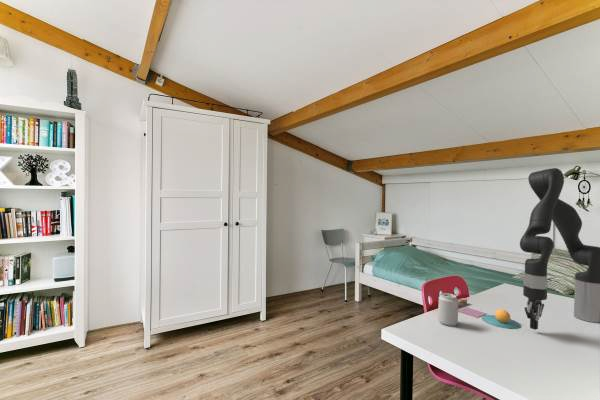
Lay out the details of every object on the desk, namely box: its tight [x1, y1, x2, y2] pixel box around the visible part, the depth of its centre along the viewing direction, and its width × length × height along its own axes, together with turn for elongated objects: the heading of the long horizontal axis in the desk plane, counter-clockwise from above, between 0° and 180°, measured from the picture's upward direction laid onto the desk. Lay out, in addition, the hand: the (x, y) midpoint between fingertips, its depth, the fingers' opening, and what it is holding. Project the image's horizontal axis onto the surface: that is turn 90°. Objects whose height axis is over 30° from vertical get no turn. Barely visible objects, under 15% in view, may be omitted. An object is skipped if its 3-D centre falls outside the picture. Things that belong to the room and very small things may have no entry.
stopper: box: [457, 297, 468, 308], centre depth 147 cm, size 20×2×2 cm, turn 124°
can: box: [437, 292, 459, 327], centre depth 127 cm, size 8×8×12 cm
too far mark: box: [458, 307, 488, 318], centre depth 140 cm, size 9×9×1 cm
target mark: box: [481, 314, 522, 330], centre depth 130 cm, size 14×14×1 cm
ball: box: [494, 308, 511, 323], centre depth 130 cm, size 6×6×6 cm
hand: (533, 328), depth 120 cm, fingers closed
